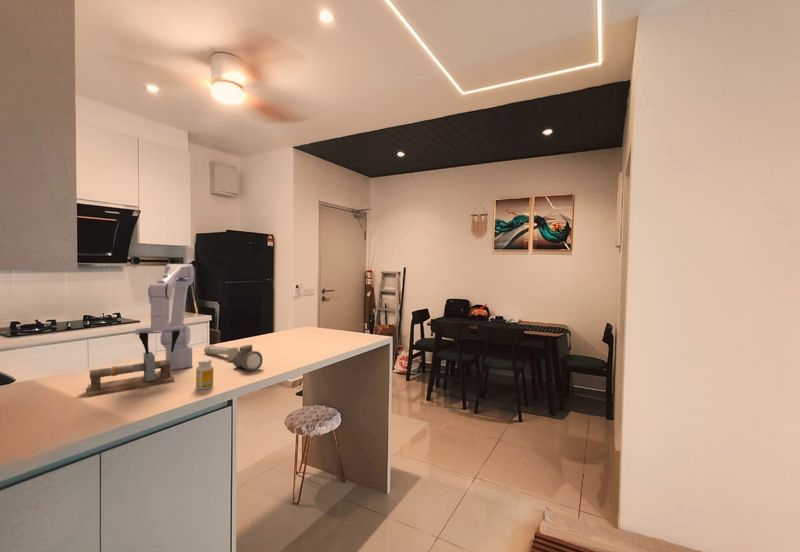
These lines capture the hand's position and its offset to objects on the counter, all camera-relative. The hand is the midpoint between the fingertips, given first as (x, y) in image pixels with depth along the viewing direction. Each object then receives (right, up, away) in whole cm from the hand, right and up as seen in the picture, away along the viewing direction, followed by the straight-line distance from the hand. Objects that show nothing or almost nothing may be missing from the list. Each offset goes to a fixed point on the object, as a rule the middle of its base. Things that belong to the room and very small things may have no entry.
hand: (159, 352), depth 132 cm
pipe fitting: (+24, -11, +18) cm, 32 cm away
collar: (-4, -9, 0) cm, 10 cm away
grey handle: (+5, -10, +36) cm, 38 cm away
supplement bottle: (+19, -11, -5) cm, 23 cm away
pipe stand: (-8, -11, -4) cm, 14 cm away
